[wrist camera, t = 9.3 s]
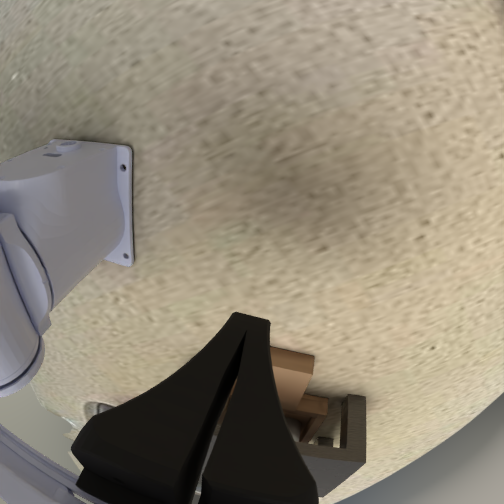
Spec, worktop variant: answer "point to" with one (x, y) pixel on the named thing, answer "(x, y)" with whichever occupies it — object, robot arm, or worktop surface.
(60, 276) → the robot arm
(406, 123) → the worktop surface
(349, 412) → the riser
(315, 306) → the worktop surface
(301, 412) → the tray
